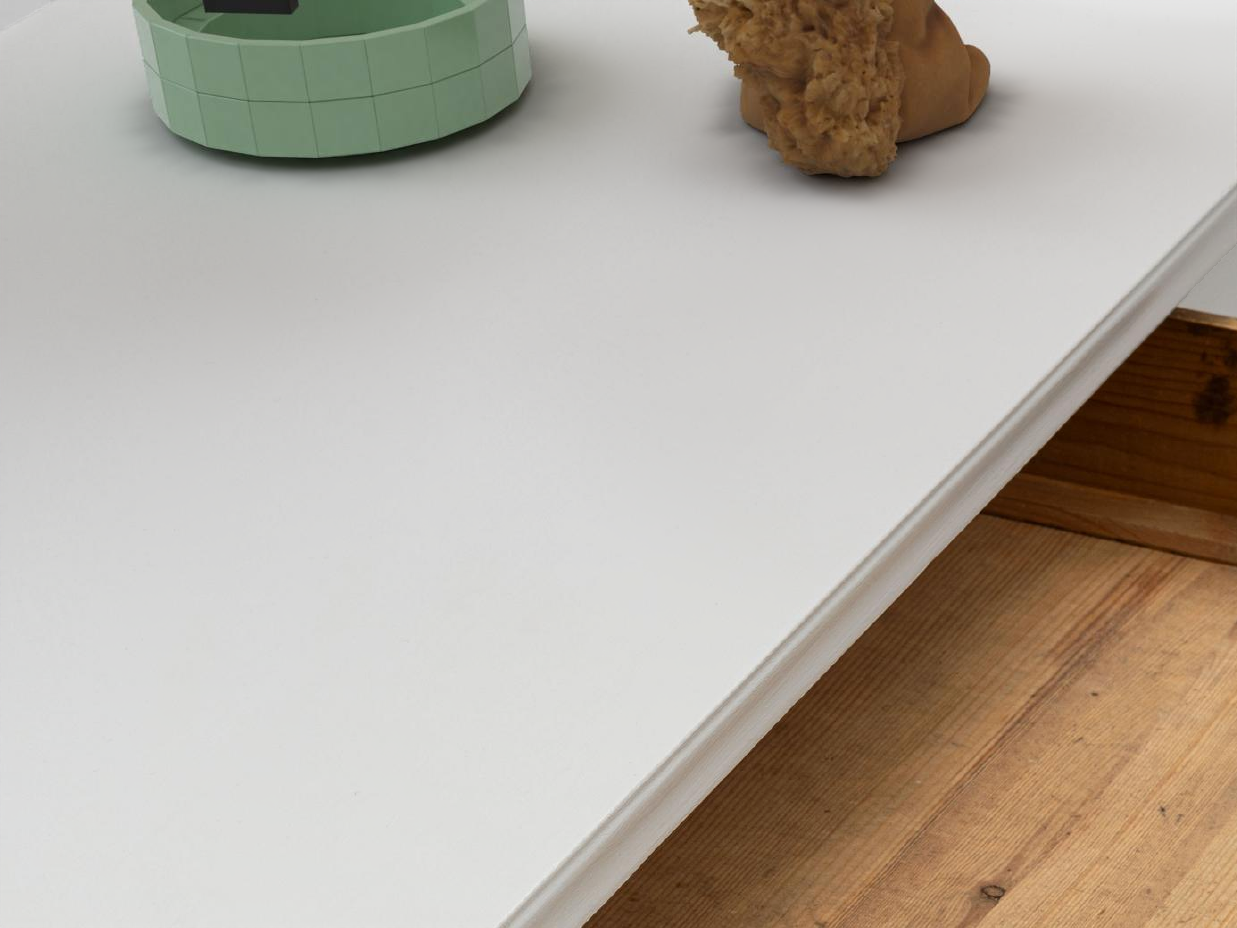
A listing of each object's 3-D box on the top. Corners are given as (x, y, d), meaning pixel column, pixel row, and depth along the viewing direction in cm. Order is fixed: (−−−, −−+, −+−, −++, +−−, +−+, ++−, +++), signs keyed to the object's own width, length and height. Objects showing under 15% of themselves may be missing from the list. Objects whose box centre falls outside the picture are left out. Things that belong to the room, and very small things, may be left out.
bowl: (103, 167, 101) (74, 41, 98) (226, 28, 113) (205, -88, 109) (482, 177, 99) (465, 48, 96) (567, 35, 111) (555, -84, 108)
